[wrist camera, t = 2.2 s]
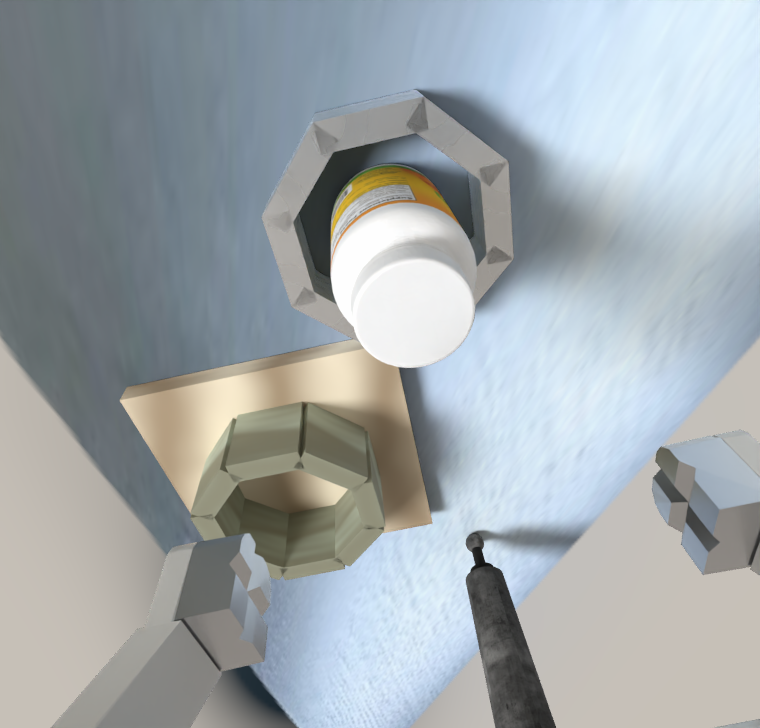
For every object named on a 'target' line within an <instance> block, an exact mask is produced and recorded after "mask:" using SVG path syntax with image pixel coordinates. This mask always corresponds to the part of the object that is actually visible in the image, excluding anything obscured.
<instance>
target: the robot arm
mask: <svg viewBox="0 0 760 728" xmlns="http://www.w3.org/2000/svg"><path fill="white" fill-rule="evenodd" d="M656 463H657V464H658V465H659V467H660V468H661V470H660V471H659V472H658V473H657V474H656V475H655V476H654V477H653V484H652V492H653V496H654V500H655V504H656V506H657V508H658V510H659V512H660V514H661V516H662V517H663V518H664V520H665V521H666V523H667V524H668V525H669V526H671V527H673V528H675V529H677V530H679V531H680V532H682V533H683V535H682V543H681V545H682V546H683V547H684V549H685V550H686V552H687V553H688V554H689V556H690V557H691V559H692V560H693V561H694V563H695V564H696V566H697V567H698V568H699V570H700V571H701V572H702V574H703V575H704V574H711V573H717V572H722V571H728V570H734V569H740V568H746V567H751V568H750V569H751V570H752V571H754V572H755V573H757V574H758V575H760V443H759V442H758V441H757V440H756V439H755V438H753V437H752V436H751V435H750V434H749V433H747V432H745V431H743V430H738V431H732V432H728V433H723V434H718V435H714V436H707V437H702V438H698V439H693V440H689V441H685V442H680V443H675V444H670V445H666V446H661V447H660V448H659V450H658V451H657V454H656ZM255 545H256V543H255V542H254V540H253V538H252V537H251V535H250V533H247V534H240V535H234V536H229V537H223V538H217V539H212V540H206V541H201V542H197V543H191V544H186V545H181V546H175V547H173V548H172V549H171V550H170V552H169V553H168V555H167V557H166V560H165V564H164V567H163V570H162V573H161V576H160V580H159V583H158V586H157V589H156V593H155V596H154V599H153V602H152V605H151V608H150V612H149V615H148V618H147V621H146V624H145V627H143V628H139V629H137V630H136V631H135V632H134V633H133V634H132V635H131V636H130V638H129V639H128V640H127V641H126V642H125V643H124V645H123V646H122V647H121V648H120V649H119V650H118V651H117V653H116V654H115V655H114V656H113V657H112V658H111V659H110V661H109V662H108V663H107V664H106V665H105V666H104V667H103V669H102V670H101V671H100V672H99V673H98V675H96V677H95V678H94V679H93V680H92V681H91V682H90V684H89V685H88V686H87V687H86V688H85V689H84V690H83V691H82V693H81V694H80V695H79V696H78V697H77V698H76V700H75V701H74V702H73V703H72V704H71V705H70V706H69V708H68V709H67V710H66V711H65V712H64V713H63V714H62V716H61V717H60V718H59V719H58V720H57V721H56V722H55V724H54V725H53V726H52V727H51V728H190V727H191V726H192V724H193V722H194V720H195V719H196V717H197V715H198V714H199V712H200V710H201V709H202V707H203V705H204V703H205V702H206V700H207V698H208V697H209V695H210V693H211V691H212V690H213V688H214V686H215V685H216V683H217V681H218V679H219V678H220V676H221V671H225V670H229V669H233V668H238V667H242V666H247V665H251V664H256V663H260V662H264V658H265V649H266V639H267V630H268V626H267V625H266V623H265V621H264V619H263V618H262V616H263V614H264V613H265V611H266V610H267V608H268V607H269V606H270V599H271V583H270V574H269V571H268V567H267V564H266V562H265V560H264V558H263V557H261V556H259V555H257V554H255ZM715 728H760V719H757V720H752V721H746V722H741V723H736V724H730V725H725V726H720V727H715Z"/></svg>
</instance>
